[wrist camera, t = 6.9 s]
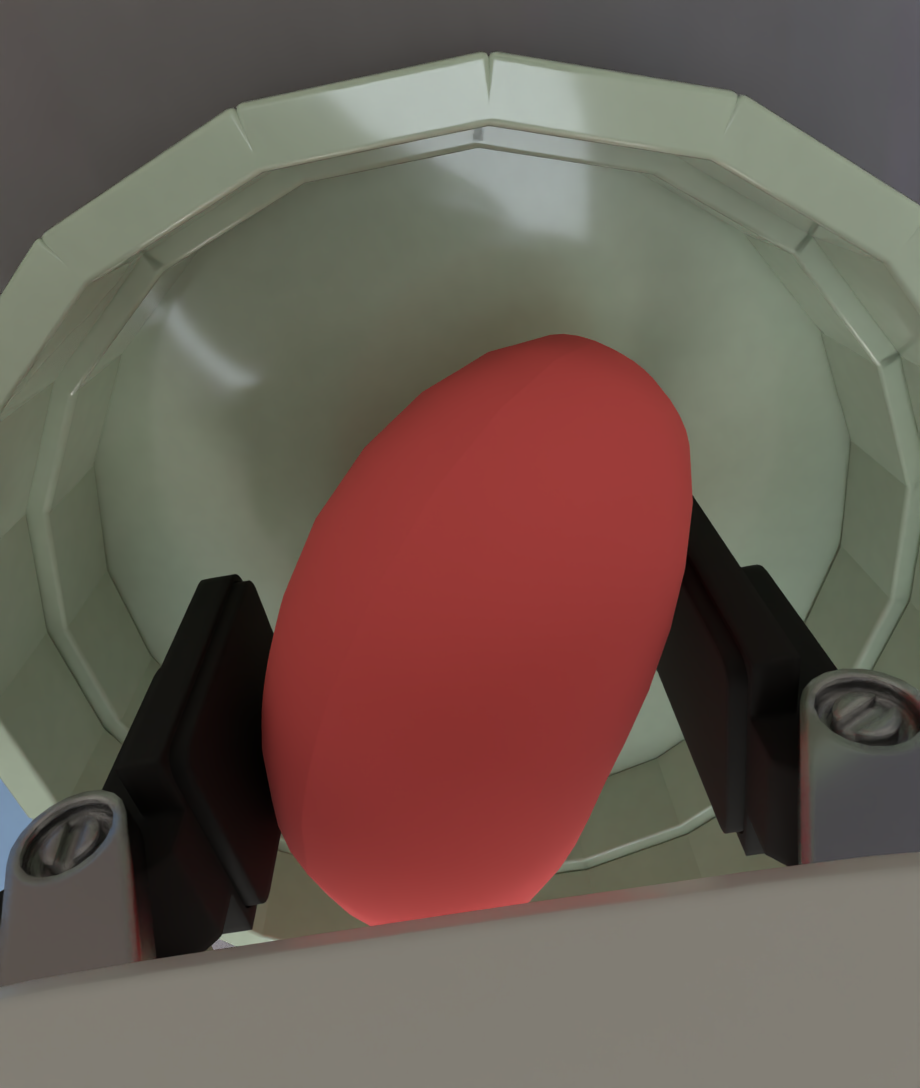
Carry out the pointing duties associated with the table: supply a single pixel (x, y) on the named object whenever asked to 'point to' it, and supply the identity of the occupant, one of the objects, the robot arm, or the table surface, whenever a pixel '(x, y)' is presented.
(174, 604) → the bowl
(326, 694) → the red oval piece
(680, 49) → the table surface
